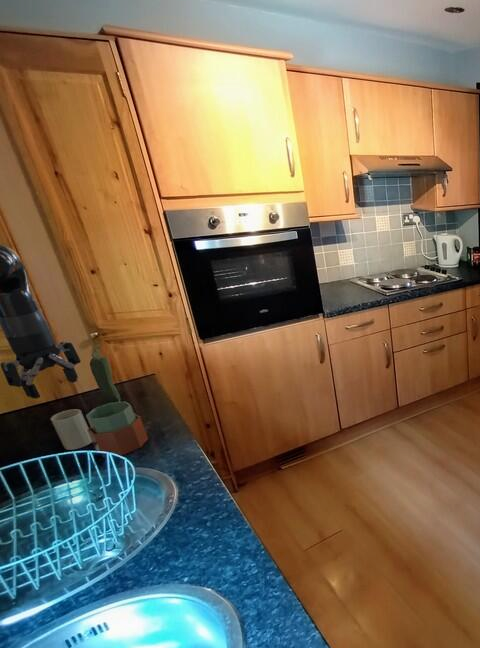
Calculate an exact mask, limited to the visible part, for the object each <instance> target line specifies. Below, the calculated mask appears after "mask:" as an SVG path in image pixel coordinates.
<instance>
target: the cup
mask: <svg viewBox="0 0 480 648" xmlns="http://www.w3.org/2000/svg"><path fill="white" fill-rule="evenodd" d="M50 422H51V424H52V426H53V428H54V431H55V432H56V435H57V437H58V438H59V440H60V443H61V444H62V447H63V448H64V449H65V450H67V451H73V450H79V449H81V448H84V447H86V446H88V445H90V444H91V443H93V442H92V440H91V438H90V435H89V433H88V431H87V430H88V429H89V428H90V427H89V426H88V424H87V422H86V419H85V417H84V414H83V413H82V410H81V409H77V408H75V409H73V408H72V409H67V410H62V411H61V412H58V413H55V414H53V415H52V416H51V417H50Z"/></svg>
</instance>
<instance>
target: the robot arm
mask: <svg viewBox="0 0 480 648" xmlns="http://www.w3.org/2000/svg"><path fill="white" fill-rule="evenodd" d="M0 329H1V330H2V332H3V334H4V337H5V338H6V341H7V343H8V345H9V346H10V349H11V351H12V352H13V354H14V355H15V360H11V361H8V362H6V361H5V362H3V361H2V362H1V363H0V369H1V370H2V372H3V375H4V377H5V379H6V382H7V384H8V386H10V387H18V388H20V387H21V388H22V389H23V391H24V393H25V395H26V397H27V398H31V399H35V400H36V399H39V398H41V395H40V392H39V390H38V389H37V387H36V385H35V383H34V381H35V378H36V377H37V376H38V374H39V372H42V371H44V370H46V369H47V368H53V367H55V366H58V367H61V368H62V371H63V373H64V376H65V378H66V380H67V381H68V382H69V383H77V382H78V379H79V376H78V374H77V371H76V370H75V366H76V365H77V364H80V363H81V362H82V360H81V358H80V356H79V354H78V352H77V350H76V349H75V347H74V345H73V342H67V341H61V342H59V344H57V345H56V340H55V338H54V335H53V333H52V331H51V329H50V327H49V324H48V322H47V319H46V318H45V316H44V314H43V313H42V312H41V310H40V308H39V305H38V304H37V301H36V298H35V297H34V295H33V293H32V291H31V289H30V285H29V280H28V276H27V272H26V269H25V265H24V263H23V261H22V259H21V257H20V255H19V254H18V253H17V252H16V251H15V250H14V249H12V248H10V247H9V246H6V245H4V244H0ZM61 352H62V353H63V355H64V356H65V358H66V359H64V358H62V357H60V353H61ZM19 366H21V369H20V368H19ZM19 369H20V372H19V371H18V370H19ZM19 373H20V374H19Z"/></svg>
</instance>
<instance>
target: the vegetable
mask: <svg viewBox="0 0 480 648" xmlns="http://www.w3.org/2000/svg"><path fill="white" fill-rule="evenodd" d="M101 348H102V345H101V344H99V343H96V344H94V346H93V347H92V348H91V357H92V358H91V359H90V361H89V367H90V371H91V373H92V376H93V378H94V381H95V383H96V384H97V386H98V388H99V391H100V393H101V394H102V396H103V398H104V399H105V400H106V401H107V402H108V403H114V402H121V395H120V393H119V391H118V389H117V387H116V386H115V384H114V382H113V379H112V370H111V365H110V364H111V363H110V362H109V360H108V358H107V357H105V356H103V355H101V352H100V350H99V349H101Z"/></svg>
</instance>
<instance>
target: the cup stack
mask: <svg viewBox="0 0 480 648" xmlns="http://www.w3.org/2000/svg"><path fill="white" fill-rule="evenodd" d="M85 417H86V420H87V422H88V423H89V425H90V427H88V428H89V429H88V430H87V431H88V433H89V435H90V438H91V440H92V442H91V443H92V444H93V446H94V449H95V451H96V450H102V451H110V452H114V453H117V454H120V455H122V456H124V455H126V454H129V453H132V452H133V451H135V450H138V449H140V448H142V447H143V446H144V445H145V443H146V442H147V441H148V440H149V436H148V434H147V431H146V428H145V426H144V423H143V420H142V418H141V416H140V415H138V414H136V413H135V412H134V409H133V407H132V404H130V403H128V402H127V401H120V402H114V403H110V402H108V403H105V404H103V405H100V406H97V407H94V408H93V409H92V410H91V411H89V412H88V413H87V414H86V415H85ZM100 456H101V457H102V458H107V457H106V456H104V455H100Z"/></svg>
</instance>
